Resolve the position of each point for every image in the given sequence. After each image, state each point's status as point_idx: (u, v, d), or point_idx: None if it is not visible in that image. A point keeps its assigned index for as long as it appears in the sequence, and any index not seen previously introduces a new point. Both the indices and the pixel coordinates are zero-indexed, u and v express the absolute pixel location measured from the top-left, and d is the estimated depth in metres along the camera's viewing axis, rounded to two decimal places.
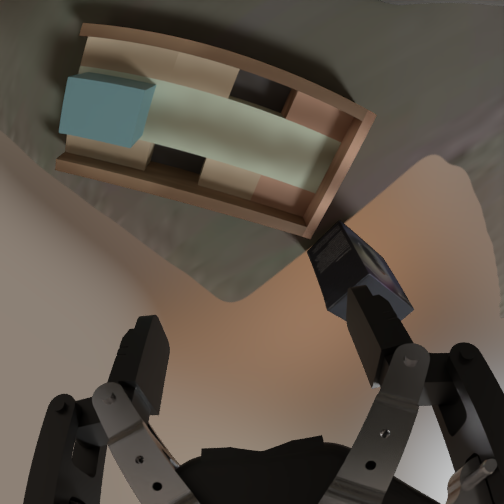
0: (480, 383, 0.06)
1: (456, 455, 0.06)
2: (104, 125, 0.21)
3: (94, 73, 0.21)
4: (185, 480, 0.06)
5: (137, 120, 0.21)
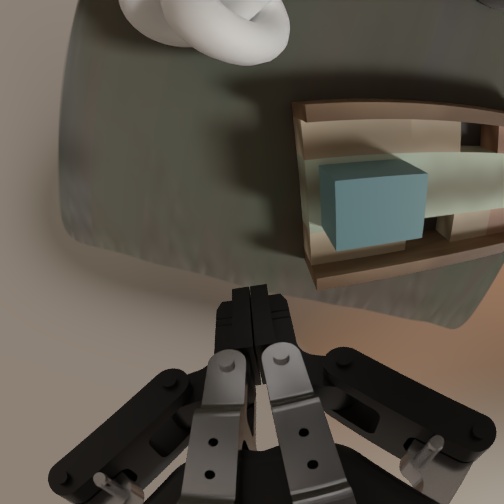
0: (374, 379, 0.08)
1: (388, 445, 0.07)
2: (393, 224, 0.20)
3: (331, 165, 0.21)
4: (241, 481, 0.06)
5: None
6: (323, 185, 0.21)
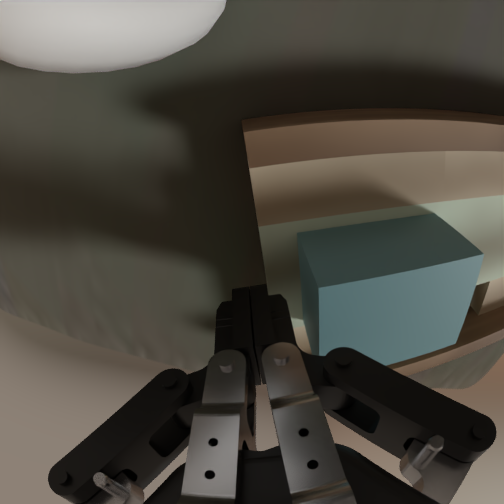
0: (374, 379, 0.08)
1: (388, 445, 0.07)
2: (416, 336, 0.11)
3: (318, 233, 0.13)
4: (241, 481, 0.06)
5: None
6: (303, 270, 0.13)
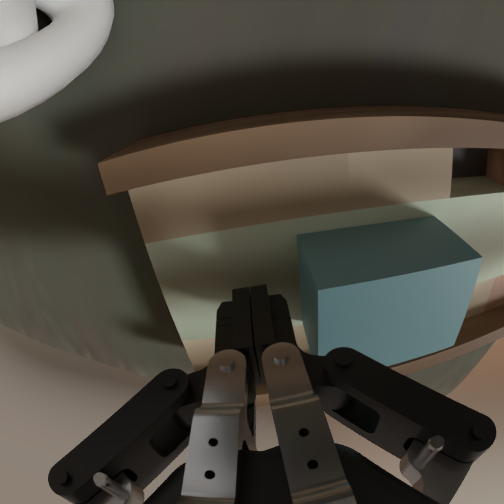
0: (374, 379, 0.08)
1: (388, 445, 0.07)
2: (414, 338, 0.11)
3: (318, 235, 0.13)
4: (241, 481, 0.06)
5: None
6: (302, 272, 0.13)
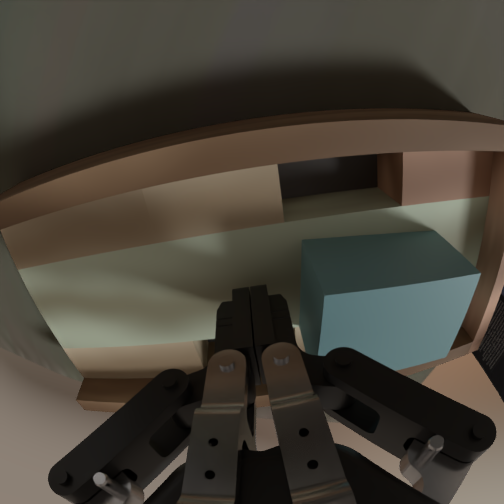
0: (374, 379, 0.08)
1: (388, 445, 0.07)
2: (410, 348, 0.12)
3: (323, 241, 0.13)
4: (241, 481, 0.06)
5: None
6: (306, 277, 0.13)
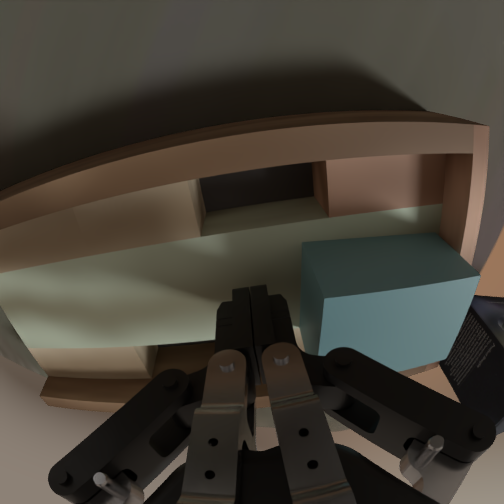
0: (374, 379, 0.08)
1: (388, 445, 0.07)
2: (410, 350, 0.12)
3: (323, 244, 0.13)
4: (241, 481, 0.06)
5: None
6: (306, 279, 0.13)
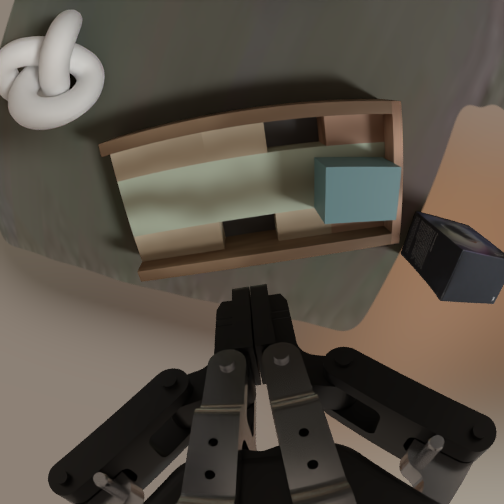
0: (374, 379, 0.08)
1: (388, 445, 0.07)
2: (371, 206, 0.25)
3: (324, 157, 0.27)
4: (241, 481, 0.06)
5: None
6: (317, 172, 0.27)
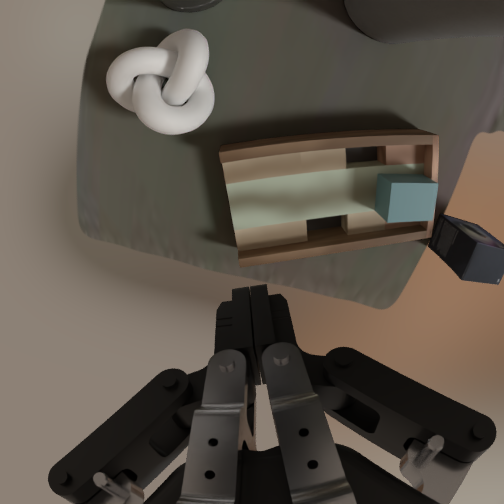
0: (374, 379, 0.08)
1: (388, 445, 0.07)
2: (418, 210, 0.33)
3: (384, 174, 0.35)
4: (241, 481, 0.06)
5: None
6: (380, 185, 0.35)
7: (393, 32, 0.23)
